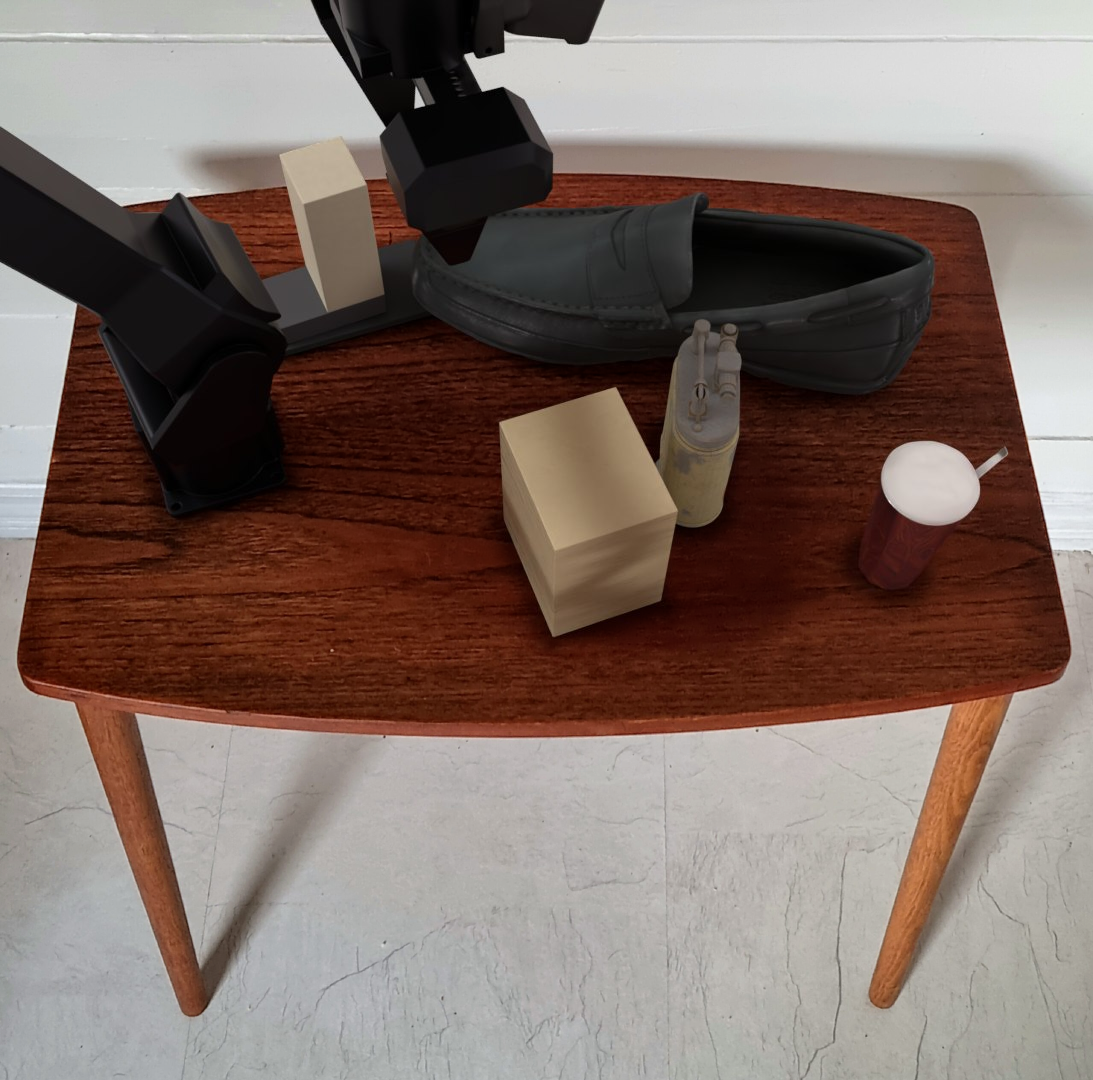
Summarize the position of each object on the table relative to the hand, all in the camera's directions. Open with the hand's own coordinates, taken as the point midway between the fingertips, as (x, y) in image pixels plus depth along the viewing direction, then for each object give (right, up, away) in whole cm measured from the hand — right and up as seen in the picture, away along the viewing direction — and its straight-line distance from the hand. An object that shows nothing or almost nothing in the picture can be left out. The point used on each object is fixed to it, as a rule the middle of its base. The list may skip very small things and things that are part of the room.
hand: (428, 195), depth 60 cm
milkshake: (+24, -18, +5) cm, 31 cm away
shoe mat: (-7, -3, +13) cm, 15 cm away
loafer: (+12, -4, +13) cm, 18 cm away
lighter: (+14, -13, +8) cm, 20 cm away
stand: (+8, -18, +5) cm, 20 cm away
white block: (-7, -3, +13) cm, 15 cm away
